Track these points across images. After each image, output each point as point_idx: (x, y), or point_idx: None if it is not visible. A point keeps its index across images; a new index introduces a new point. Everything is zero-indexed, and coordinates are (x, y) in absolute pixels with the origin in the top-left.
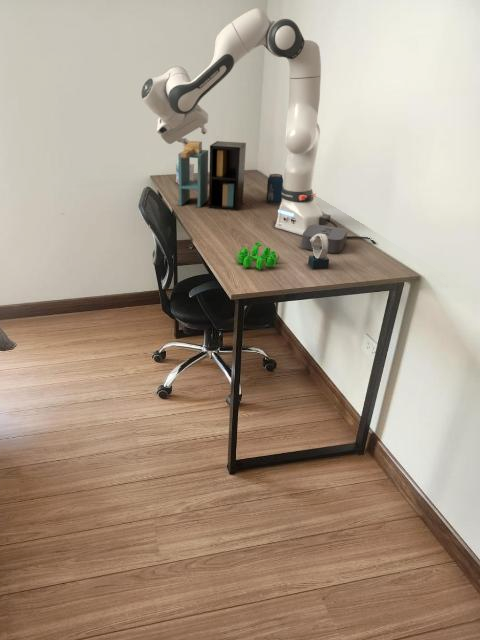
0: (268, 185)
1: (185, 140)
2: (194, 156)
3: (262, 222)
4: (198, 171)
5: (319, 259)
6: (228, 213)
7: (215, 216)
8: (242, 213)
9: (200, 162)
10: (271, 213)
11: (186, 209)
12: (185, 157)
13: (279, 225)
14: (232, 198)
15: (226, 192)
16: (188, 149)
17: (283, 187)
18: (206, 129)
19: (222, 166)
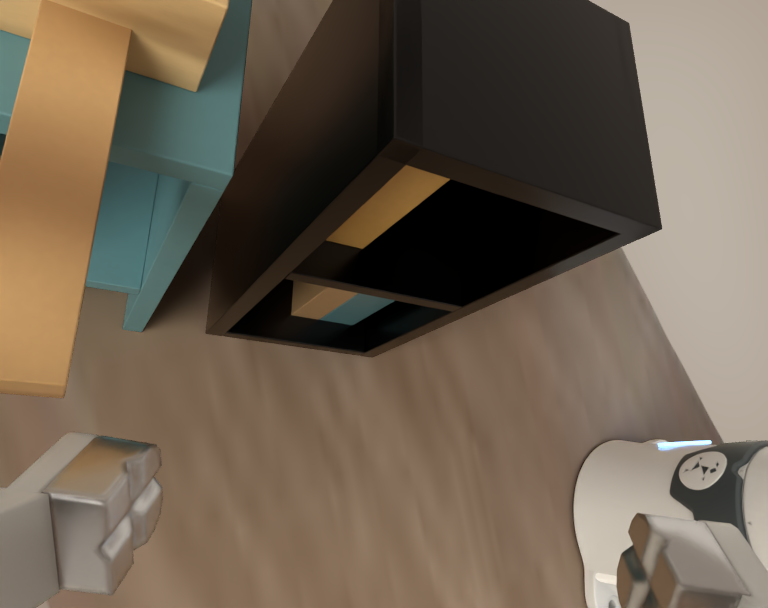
0: None
1: (109, 571)
2: (147, 162)
3: (523, 539)
4: (172, 243)
5: None
6: (342, 425)
7: (282, 511)
8: (409, 406)
9: (213, 207)
10: (522, 374)
11: (43, 399)
12: (53, 394)
13: (608, 603)
14: (368, 312)
15: (346, 295)
16: (57, 88)
17: (754, 544)
18: (735, 530)
19: (399, 219)
